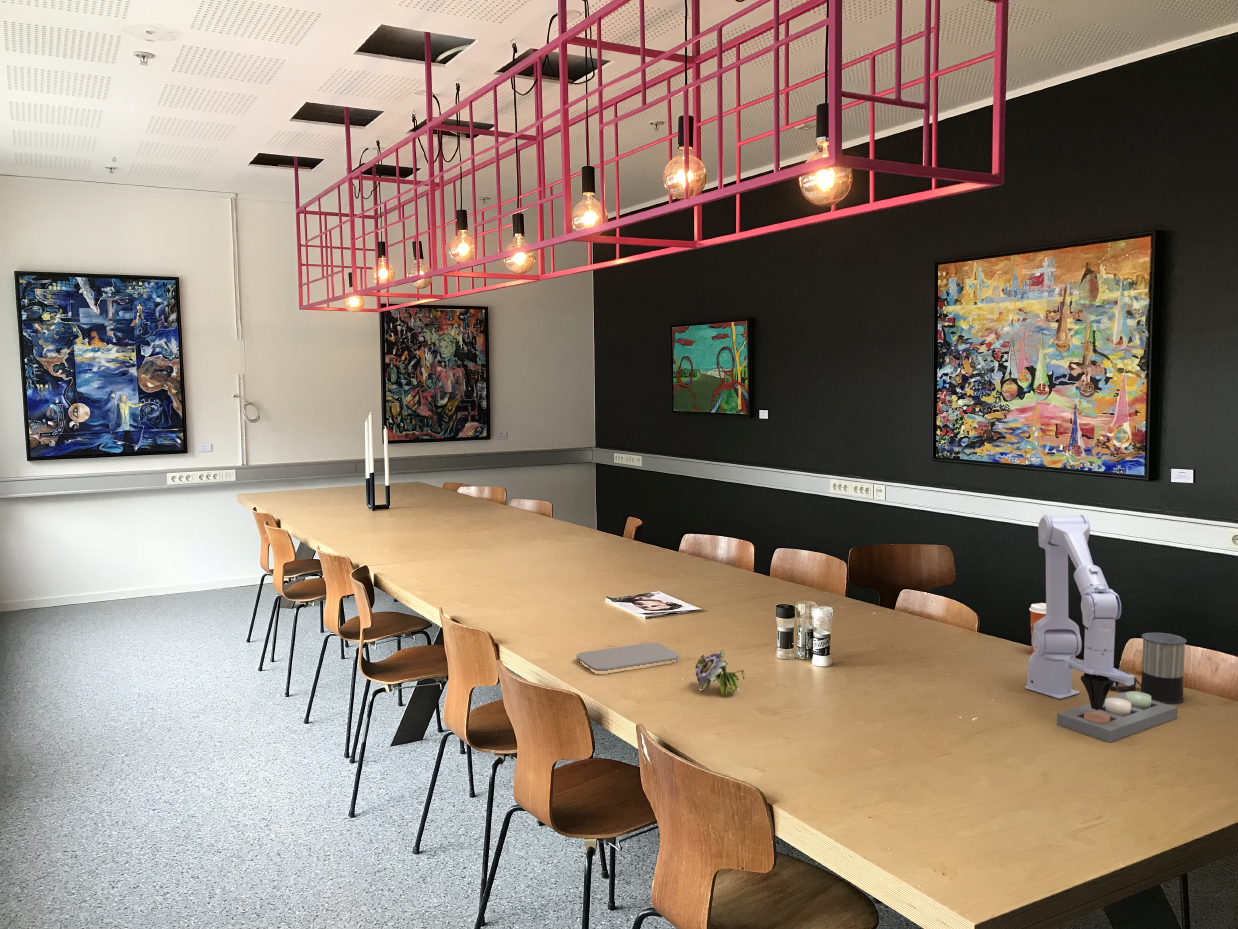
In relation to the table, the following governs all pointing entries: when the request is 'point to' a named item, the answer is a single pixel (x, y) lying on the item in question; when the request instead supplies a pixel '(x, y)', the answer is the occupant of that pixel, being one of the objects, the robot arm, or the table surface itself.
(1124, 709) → the button cream
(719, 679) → the passion flower
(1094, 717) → the button terracotta
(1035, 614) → the paper cup
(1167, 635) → the milk frother
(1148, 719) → the button board
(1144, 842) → the table surface
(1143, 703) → the button sage
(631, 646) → the tablet
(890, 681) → the table surface
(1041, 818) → the table surface
